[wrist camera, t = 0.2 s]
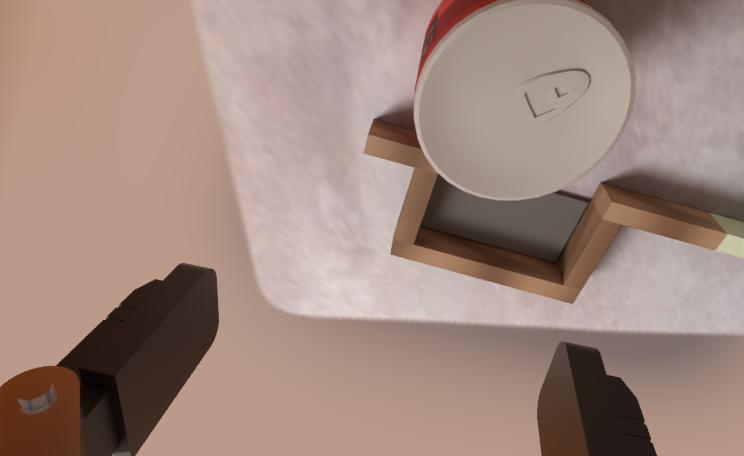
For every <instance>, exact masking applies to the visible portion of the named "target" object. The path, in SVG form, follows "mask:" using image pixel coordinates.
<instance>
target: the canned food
mask: <svg viewBox="0 0 744 456" xmlns="http://www.w3.org/2000/svg"><path fill="white" fill-rule="evenodd" d="M635 78H636V76H635V72H634V67H633V62H632V57H631V55H630V53H629V51H628V48H627V46H626V44H625V42H624V40H623V38H622V37H621V35H620V33H619V32H618V31H617V30H616V29H615V27H614V26H613V25H612V24H611V23H610V22H609V20H608V19H607V18H606V17H605V16H603V15H602V14H600V13H599V12H598V11H597V10H595V9H594V8H593V7H591V6H590V5H588V4H587V3H586V2H584V1H583V0H443V1H442V2H441V4H440V5H439V7H438V8H437V10H436V11H435V13H434V14H433V16H432V18H431V21H430V23H429V25H428V28H427V31H426V35H425V40H424V44H423V49H422V55H421V60H420V65H419V70H418V75H417V81H416V86H415V95H414V122H415V127H416V132H417V138H418V141H419V143H420V146H421V148H422V150H423V153H424V155H425V157H426V158H427V160H428V161H429V162H430V164H431V165H432V167H433V168H434V169H435V171H437V172H438V173H439V174H440V175H441V176H442V177H443V178H444V179H445V180H446V181H448V182H449V183H451V184H452V185H454V186H456V187H457V188H459V189H461V190H462V191H465V192H467V193H470V194H473V195H476V196H478V197H482V198H488V199H494V200H524V199H530V198H537V197H540V196H543V195H546V194H550V193H553V192H556V191H558V190H560V189H562V188H564V187H566V186H568V185H570V184H572V183H574V182H576V181H577V180H579V179H580V178H582V177H583V176H584V175H586V174H587V173H589V172H590V171H591V170H593V169H594V168H595V167H596V166H597V165H598V164H599V163H600V162H601V161H602V160H603V159H604V158H605V157H606V156H607V155H608V154H609V153H610V151H611V150H612V148H613V147H614V146H615V144H616V143H617V141H618V140H619V139H620V137H621V135H622V133H623V131H624V129H625V127H626V125H627V123H628V120H629V118H630V115H631V111H632V107H633V103H634V99H635Z"/></svg>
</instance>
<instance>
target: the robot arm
mask: <svg viewBox="0 0 744 456" xmlns="http://www.w3.org/2000/svg"><path fill="white" fill-rule="evenodd" d="M218 324H219V313H218V295H217V277H216V273H215V271H214V270H213V269H210V268H205V267H200V266H195V265H190V264H185V263H182V264H179V265H178V266H177V267H176V268H175V269H174V270H173V271H172V272H171V273H170V274H169V275H168V276H167V277H166V278H165V279H164V280H163V281H161V280H156V279H155V280H153V281H151V282H149V283H147V284H145V285H143V286H141V287H139V288H137V289H135V290H134V291H133V292H132V293H131V294H130V295H129V296H128V297H127V298H126V299H125V300H124V301H122V302H121V304H120V305H119V307H118V308H115V309H114V310H113V311H112V312H111V313H110V314H109V315H108V316H107V319H106V320H103V321H102V322H101V323H100V324H99V325H98V326H97V327H96V328H95V329H94V330H93V331H92V332H90V333H89V334H88V335H87V336H86V337H85V338H84V339H83V340H82V341H81V342H80V343H79V344H78V345H77V346H76V347H75V348H74V349H73V350H72V351H71V352H70V353H69V354H68V355H67V356H66V357H65V358H64V359H62V360H61V361H60V362H59V364H58V365H56V366H44V367H38V368H34V369H31V370H28V371H25V372H22V373H21V374H18V375H16V376H14V377H13V378H11V379H9V380H8V381H7V382H5V383H4V384H3V385H2V386H1V387H0V456H112V455H113V456H135V455H136V454H137V452H138V451H139V449H140V448H141V446H142V445H143V443H144V442H145V441H146V439H147V438H148V436H149V435H150V433H151V432H152V430H153V429H154V428H155V426H156V425H157V423H158V422H159V420H160V419H161V418H162V416H163V414H164V413H165V412H166V410H167V409H168V407H169V406H170V404H171V403H172V402H173V400H174V399H175V397H176V396H177V394H178V393H179V391H180V390H181V389H182V387H183V386H184V384H185V383H186V381H187V380H188V378H189V377H190V376H191V374H192V373H193V371H194V370H195V368H196V367H197V365H198V364H199V363H200V361H201V360H202V358H203V357H204V355H205V354H206V352H207V351H208V350H209V348H210V347H211V345H212V343H213V341H214V339H215V336H216V334H217V329H218ZM537 420H538V428H539V436H540V445H541V453H542V456H657V454H656V452H655V449H654V446H653V444H652V443H651V442H650V440H651V437H650V434H649V431H648V429H647V426H646V425H645V424H644V417H643V414H642V411H641V409H640V406H639V403H638V400H637V398H636V397H635V396H634V394H633V393H632V392H631V390H630V389H629V388H628V387H627V386H626V384H625V383H624V382H623V380H622V379H621V378H619V377H614V376H609V375H606V371H605V368H604V365H603V361H602V358H601V355H600V352H599V350H598V349H596V348H592V347H587V346H582V345H577V344H572V343H567V342H560V343H559V345H558V347H557V349H556V351H555V354H554V356H553V359H552V362H551V364H550V367H549V370H548V372H547V375H546V378H545V380H544V383H543V386H542V388H541V391H540V395H539V400H538V408H537Z"/></svg>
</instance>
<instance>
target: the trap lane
mask: <svg viewBox="0 0 744 456" xmlns="http://www.w3.org/2000/svg"><path fill="white" fill-rule="evenodd" d="M364 154H368V155H372V156H375V157H379V158H382V159H386V160H390V161H393V162H397V163H401V164H404V165H408V166H411V167H415V169H414V172H413V175H412V178H411V182H410V185H409V188H408V191H407V194H406V197H405V200H404V203H403V207H402V210H401V213H400V216H399V219H398V222H397V225H396V229H395V232H394V236H393V242H392V248H391V255H395V256H398V257H402V258H406V259H409V260H413V261H417V262H420V263H424V264H428V265H431V266H435V267H439V268H442V269H446V270H450V271H453V272H457V273H461V274H464V275H468V276H472V277H475V278H479V279H483V280H486V281H490V282H494V283H498V284H501V285H505V286H509V287H512V288H516V289H520V290H523V291H527V292H531V293H534V294H538V295H542V296H545V297H549V298H553V299H556V300H560V301H564V302H567V303H571V304H573V303H574V301H575V300H576V298H577V296H578V295H579V293H580V291H581V290H582V288H583V287H584V285H585V283H586V282H587V280H588V278H589V277H590V275H591V273H592V272H593V270H594V269H595V267H596V265H597V264H598V262H599V260H600V259H601V257H602V256H603V254H604V252H605V251H606V249H607V247H608V246H609V244H610V243H611V241H612V239H613V238H614V236H615V234H616V233H617V231H618V229H619V228H620V226H621V225H625V226H629V227H632V228H636V229H640V230H643V231H647V232H650V233H654V234H658V235H661V236H665V237H669V238H672V239H676V240H679V241H683V242H687V243H690V244H694V245H697V246H701V247H705V248H708V249H712V250H716V249H717V247H718V246H719V245H720V244H721V242H722V241H723V240H724V238H725V237H726V236H727V233H726V232H725V230H724V229H723V228H722V227H721V226H720V225H719V224H718V222H717V221H716V220H715V219H714V218H713V217H712V216H711V214H710V213H709V212H705V211H702V210H698V209H695V208H691V207H687V206H684V205H680V204H677V203H673V202H669V201H666V200H662V199H659V198H655V197H651V196H648V195H644V194H641V193H637V192H633V191H630V190H626V189H623V188H619V187H615V186H612V185H608V184H605V183H600V185H599V187H598V188H597V190H596V192H595V194H594V196H593V197H592V199H591V201H590V203H589V205H588V206H587V208H586V210H585V212H584V214H583V215H582V217H581V219H580V221H579V223H578V224H577V226H576V228H575V230H574V232H573V233H572V235H571V237H570V239H569V241H568V242H567V244H566V246H565V248H564V250H563V251H562V253H561V255H560V257H559V259H558V260H557V262H556V263H555V262H551V261H548V260H544V259H540V258H537V257H533V256H529V255H526V254H522V253H519V252H515V251H511V250H508V249H504V248H500V247H497V246H493V245H489V244H486V243H482V242H478V241H475V240H471V239H467V238H464V237H460V236H456V235H453V234H449V233H445V232H442V231H438V230H434V229H431V228H427V227H423V226H420V224H421V221H422V219H423V216H424V213H425V210H426V207H427V204H428V201H429V199H430V196H431V193H432V190H433V187H434V184H435V181H436V179H437V176H438V172H437V171H435V169H434V168H433V167H432V165H431V164H430V162H429V161H428V160H427V158H426V157H425V155H424V153H423V150H422V148H421V146H420V143H419V141H418V138H417V132H416V131H414V130H410V129H407V128H403V127H399V126H396V125H392V124H389V123H385V122H381V121H378V120H373V123H372V125H371V128H370V131H369V134H368V138H367V142H366V146H365V150H364Z"/></svg>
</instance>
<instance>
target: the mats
mask: <svg viewBox="0 0 744 456" xmlns="http://www.w3.org/2000/svg"><path fill="white" fill-rule="evenodd" d="M587 204H588V201H587V200H583V199H579V198H576V197H572V196H568V195H565V194H561V193H558V192H553V193H550V194H546V195H543V196H540V197H537V198H530V199H524V200H494V199H488V198H482V197H478V196H476V195H473V194H470V193H467V192H465V191H462V190H461V189H459V188H457V187H456V186H454V185H452V184H451V183H449V182H448V181H446V180H445V179H444V178H443V177H442V176H441V175H440V174H439V173H438V176H437V179H436V181H435V184H434V187H433V190H432V193H431V196H430V199H429V201H428V204H427V207H426V210H425V213H424V216H423V219H422V221H421V224H420V225H421V226H424V227H428V228H432V229H435V230H439V231H443V232H446V233H450V234H454V235H457V236H461V237H465V238H468V239H472V240H476V241H479V242H483V243H487V244H490V245H494V246H498V247H501V248H505V249H509V250H512V251H516V252H519V253H523V254H527V255H530V256H534V257H538V258H541V259H545V260H549V261H552V262H556V260H557V259H558V257H559V255H560V253H561V251H562V250H563V248H564V246H565V244H566V242H567V241H568V239H569V237H570V235H571V233H572V232H573V230H574V228H575V226H576V224H577V223H578V221H579V219H580V217H581V215H582V213H583V212H584V210H585V208H586V206H587Z"/></svg>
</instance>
